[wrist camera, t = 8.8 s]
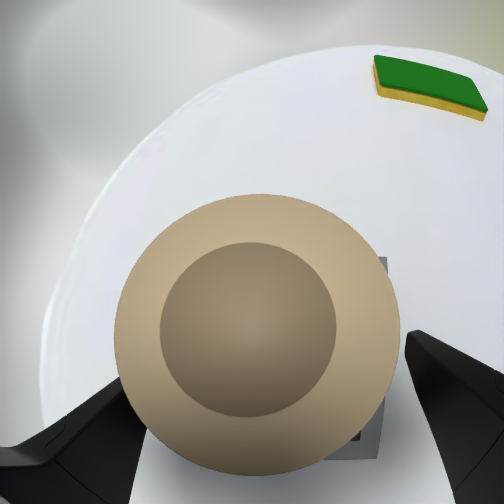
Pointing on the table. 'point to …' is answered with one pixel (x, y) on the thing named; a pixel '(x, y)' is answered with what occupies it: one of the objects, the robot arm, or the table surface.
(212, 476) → the table surface
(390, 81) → the dish sponge
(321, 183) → the table surface
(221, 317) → the paper roll
